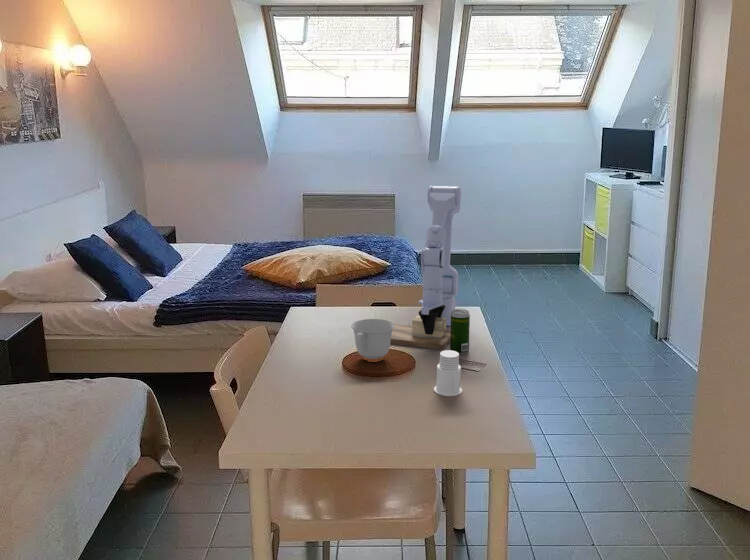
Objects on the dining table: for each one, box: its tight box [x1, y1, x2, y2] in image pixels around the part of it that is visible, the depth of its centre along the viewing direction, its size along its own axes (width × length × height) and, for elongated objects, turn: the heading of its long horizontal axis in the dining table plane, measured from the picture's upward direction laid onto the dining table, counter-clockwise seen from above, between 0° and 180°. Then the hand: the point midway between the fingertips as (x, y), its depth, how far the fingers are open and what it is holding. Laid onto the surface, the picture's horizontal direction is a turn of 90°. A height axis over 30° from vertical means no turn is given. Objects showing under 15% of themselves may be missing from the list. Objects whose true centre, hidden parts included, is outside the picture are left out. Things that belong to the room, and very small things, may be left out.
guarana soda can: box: [449, 308, 471, 356], centre depth 207 cm, size 5×5×12 cm
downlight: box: [433, 349, 463, 397], centre depth 179 cm, size 8×7×10 cm
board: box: [390, 323, 451, 351], centre depth 220 cm, size 14×20×2 cm
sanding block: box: [411, 315, 447, 339], centre depth 218 cm, size 5×9×5 cm, turn 68°
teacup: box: [350, 318, 395, 359], centre depth 200 cm, size 12×15×10 cm
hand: (431, 331), depth 218 cm, fingers closed on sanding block, 5 cm apart
